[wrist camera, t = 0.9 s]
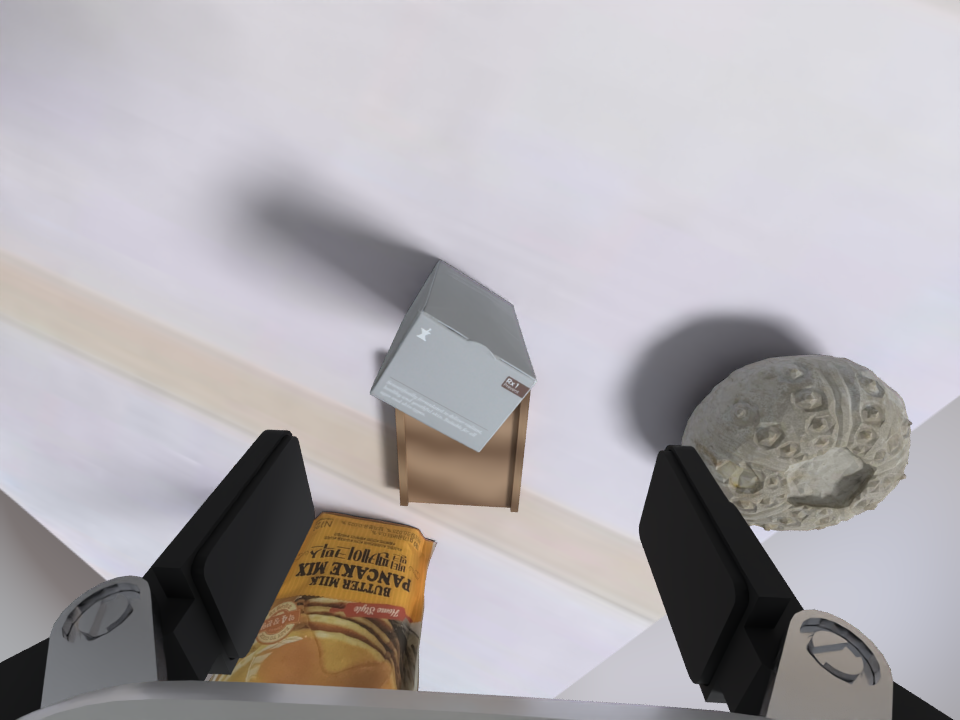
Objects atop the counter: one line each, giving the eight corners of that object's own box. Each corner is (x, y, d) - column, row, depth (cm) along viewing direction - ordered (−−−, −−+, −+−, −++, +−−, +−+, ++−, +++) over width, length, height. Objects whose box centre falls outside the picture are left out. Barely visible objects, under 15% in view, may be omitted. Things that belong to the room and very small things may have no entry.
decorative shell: (688, 503, 48) (733, 582, 39) (647, 375, 41) (690, 435, 32) (860, 453, 44) (954, 528, 35) (845, 305, 37) (956, 350, 28)
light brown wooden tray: (397, 358, 41) (392, 368, 39) (530, 364, 41) (532, 375, 39) (404, 491, 48) (400, 505, 46) (517, 497, 48) (517, 512, 46)
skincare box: (405, 313, 39) (353, 400, 25) (445, 249, 37) (412, 304, 22) (481, 360, 41) (473, 465, 27) (524, 301, 38) (541, 384, 24)
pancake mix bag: (442, 567, 54) (393, 930, 28) (292, 541, 53) (102, 894, 27) (451, 530, 51) (405, 895, 25) (293, 502, 50) (82, 854, 24)
